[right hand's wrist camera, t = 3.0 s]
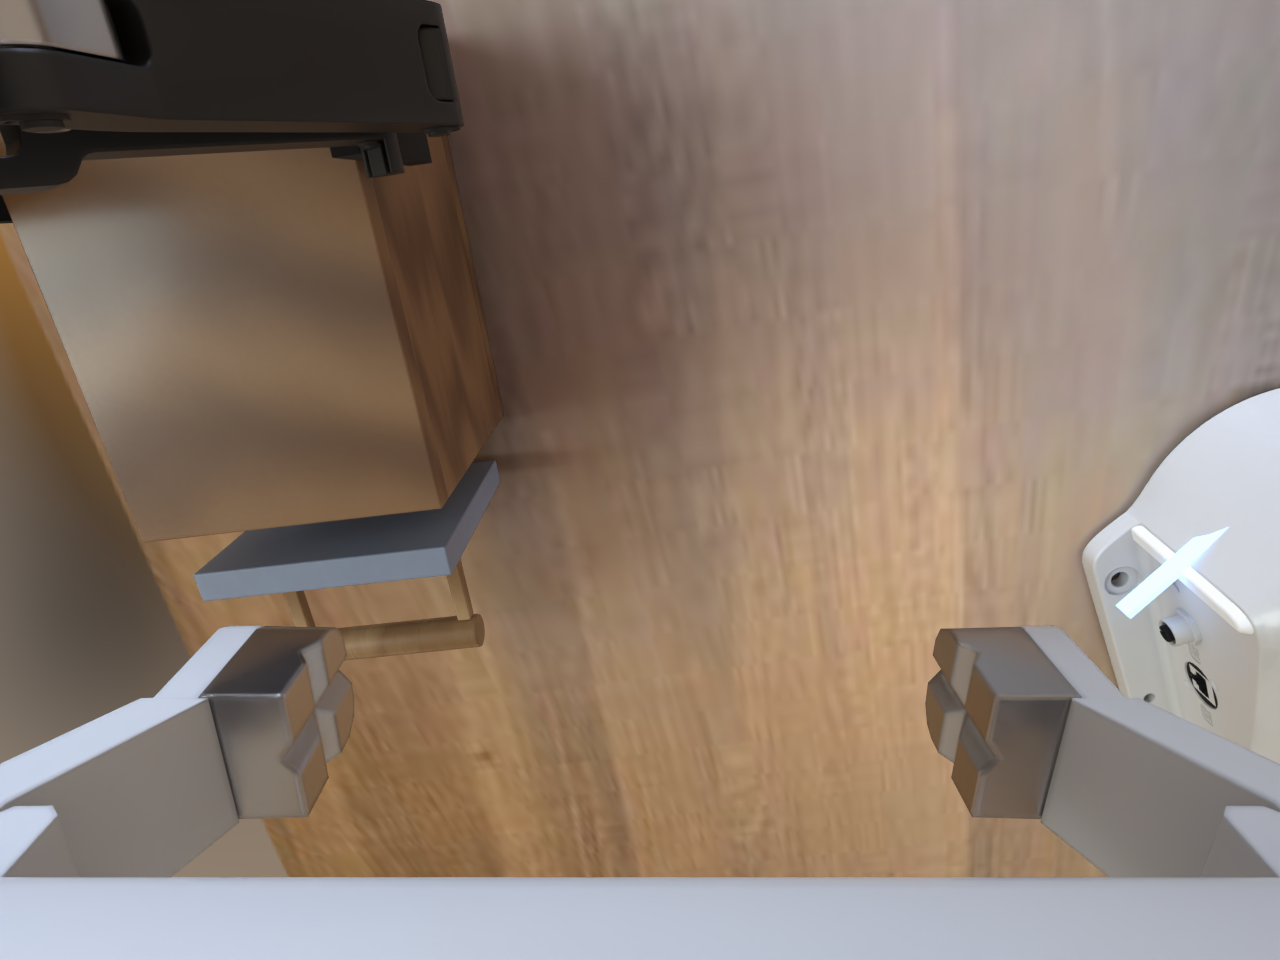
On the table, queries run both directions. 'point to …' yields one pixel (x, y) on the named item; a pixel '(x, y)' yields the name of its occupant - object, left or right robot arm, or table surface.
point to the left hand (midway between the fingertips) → (210, 149)
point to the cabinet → (268, 333)
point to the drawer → (365, 567)
